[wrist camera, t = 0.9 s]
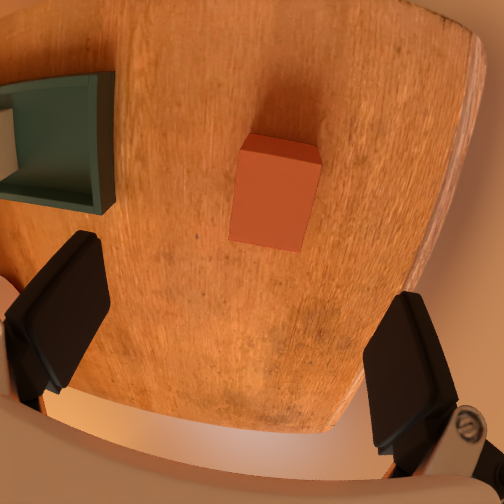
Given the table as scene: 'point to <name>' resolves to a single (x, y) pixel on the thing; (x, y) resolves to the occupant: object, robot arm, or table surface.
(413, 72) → the table surface
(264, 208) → the orange-red block
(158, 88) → the table surface
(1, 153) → the cream white rectangular block
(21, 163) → the tray
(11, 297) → the cup
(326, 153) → the table surface
